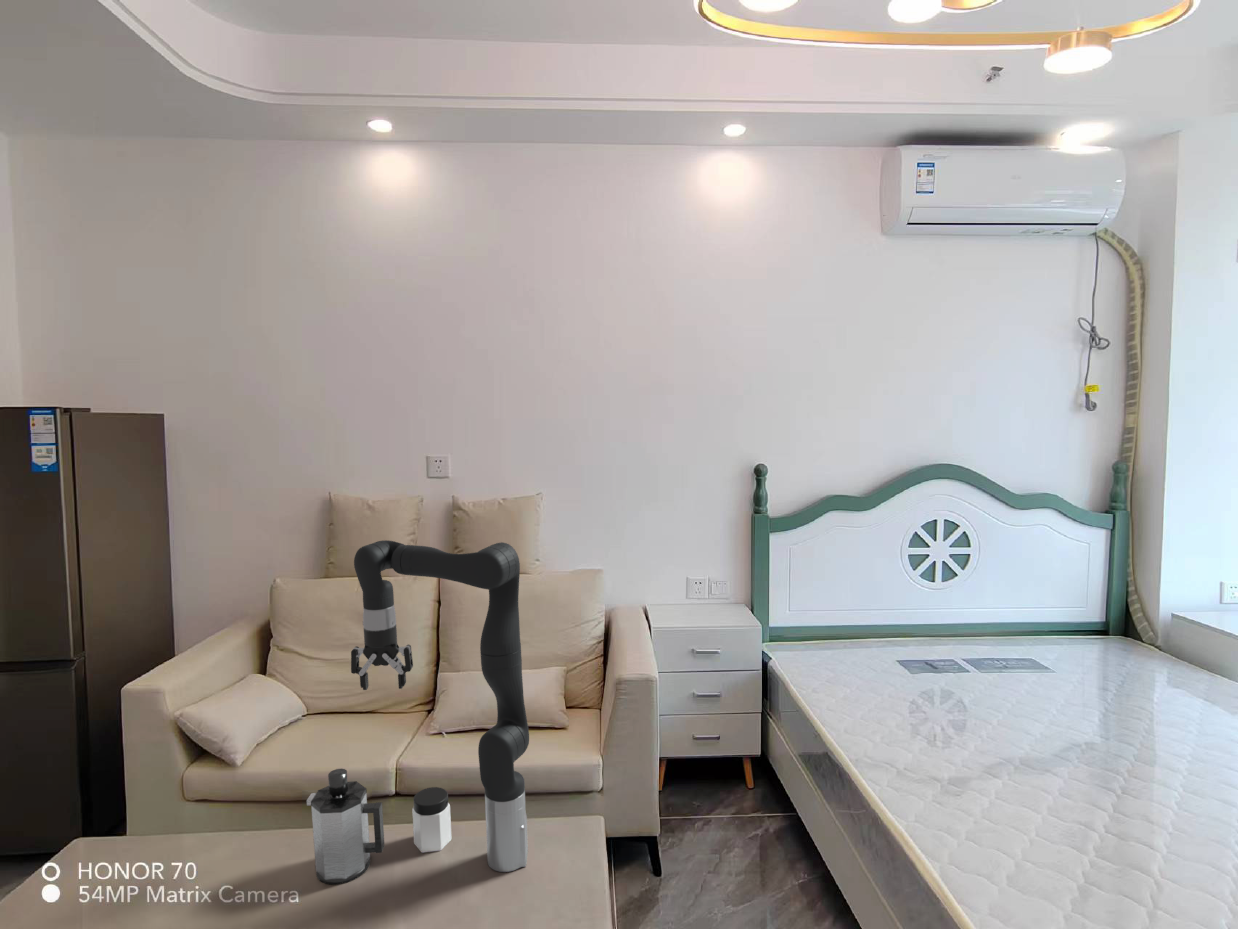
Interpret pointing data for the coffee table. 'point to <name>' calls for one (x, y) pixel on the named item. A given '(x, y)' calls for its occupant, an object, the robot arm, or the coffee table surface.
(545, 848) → the coffee table surface
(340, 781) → the plunger
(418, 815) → the jar
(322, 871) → the press pot
